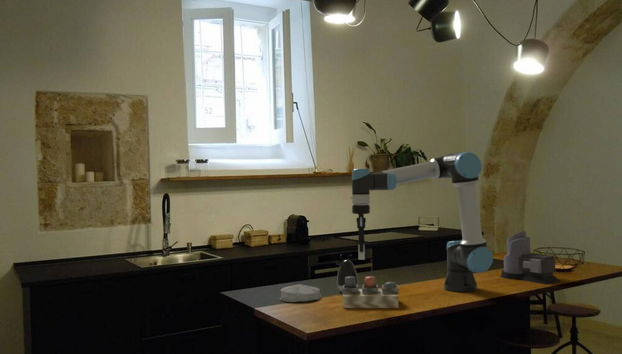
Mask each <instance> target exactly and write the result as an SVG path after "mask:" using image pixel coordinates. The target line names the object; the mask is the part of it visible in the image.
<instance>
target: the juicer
mask: <svg viewBox="0 0 622 354" xmlns="http://www.w3.org/2000/svg"><path fill="white" fill-rule="evenodd" d="M506 249H507V250H506V251H507V252H506V253H507V254H506V255H504V256H503V269H502V270H501V274H499V275H500V277H499V278H503V279H505V280H506V279H508V280H515V281H516V280H517V281H525V282H528V283H529V282H530V283H537V284H543V285H549V284H556V283H559V282H561V280H560V279H559V278H557V276H555V275H554V273H556V258H555V256H554V255H550V254H541V253H534V252H531V237H530V236H527V231H526V230H523V231H519V232H515V233H513V234H512V235H510V236H509V237H507V239H506Z"/></svg>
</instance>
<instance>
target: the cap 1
mask: <svg viewBox="0 0 622 354" xmlns="http://www.w3.org/2000/svg"><path fill="white" fill-rule="evenodd" d="M345 287H347V288H353V287H355V277H353V276H348V277H345Z"/></svg>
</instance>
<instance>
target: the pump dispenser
mask: <svg viewBox="0 0 622 354" xmlns="http://www.w3.org/2000/svg"><path fill="white" fill-rule="evenodd" d="M335 264H336V265H338V266H339V268H338V271H337V277H336V285H337V287H338V289H339V291H340V292H342V286H343V285H345V277H348V276H353V277H355V285H358V286H359V278H358V273H357V270H356V268H355V265H354V263H353V261H351V260H349V259H344V260H343V261H342V262H339V261H336V262H335Z"/></svg>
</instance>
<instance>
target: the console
mask: <svg viewBox="0 0 622 354" xmlns="http://www.w3.org/2000/svg"><path fill="white" fill-rule="evenodd" d="M399 289H400V288H399V285H398V284H395V288H385V284H382V285H381V288H379V285H378V284H375V287H372V288H368V287H365V284H362V285H361V288H359V284H358V285H355V287H353V288H347V287H345V285H343V286H342V291H341V294H342V308H343V309H399V294H400V293H399V291H400V290H399Z"/></svg>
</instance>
